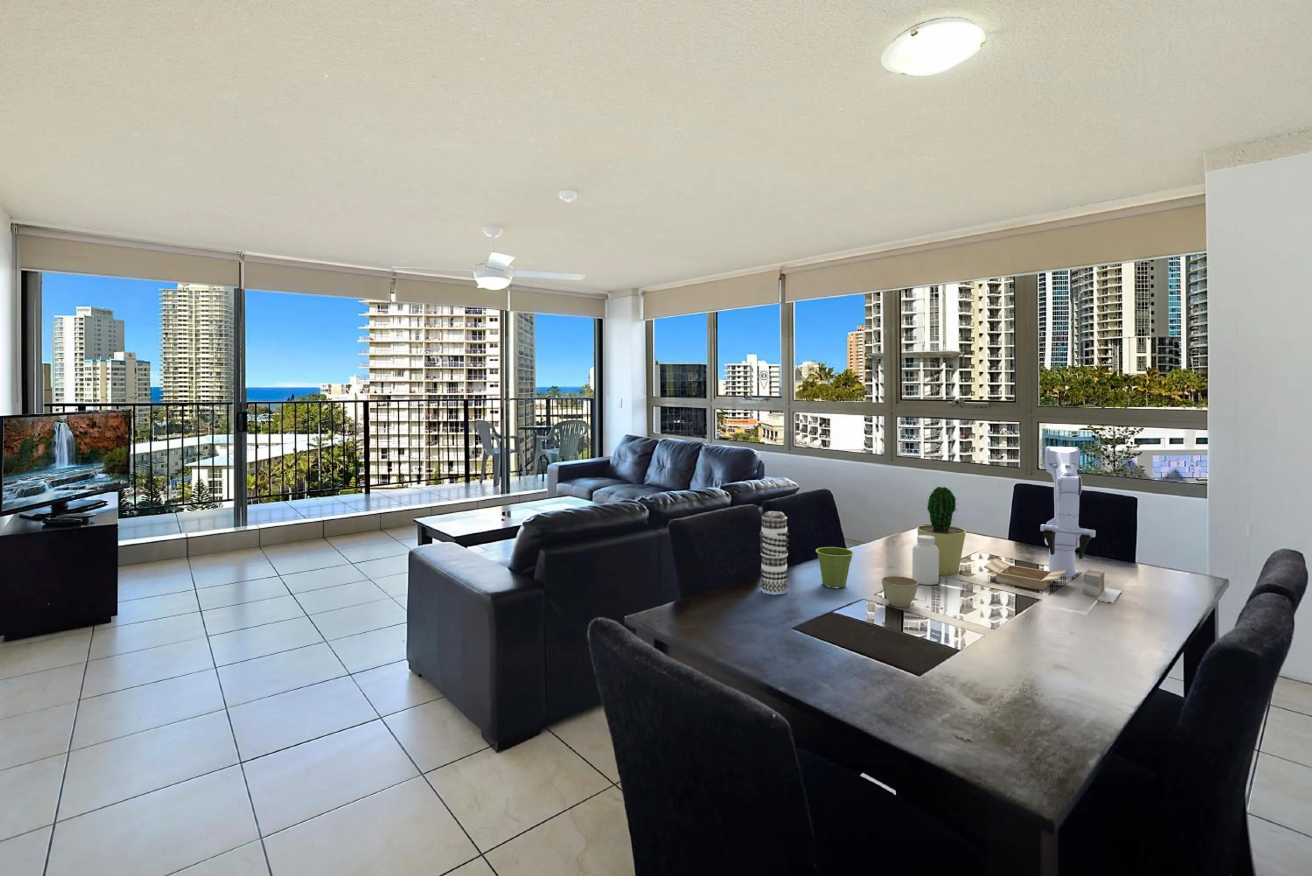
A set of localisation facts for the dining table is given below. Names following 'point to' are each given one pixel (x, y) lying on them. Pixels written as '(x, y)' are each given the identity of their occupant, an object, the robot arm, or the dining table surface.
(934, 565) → the pill bottle
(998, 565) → the carton
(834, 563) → the plant pot
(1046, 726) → the dining table surface
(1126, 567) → the dining table surface
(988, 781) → the dining table surface
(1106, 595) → the grey mat
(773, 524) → the decorative candle
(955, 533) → the potted cactus
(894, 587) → the flower pot
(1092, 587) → the block
